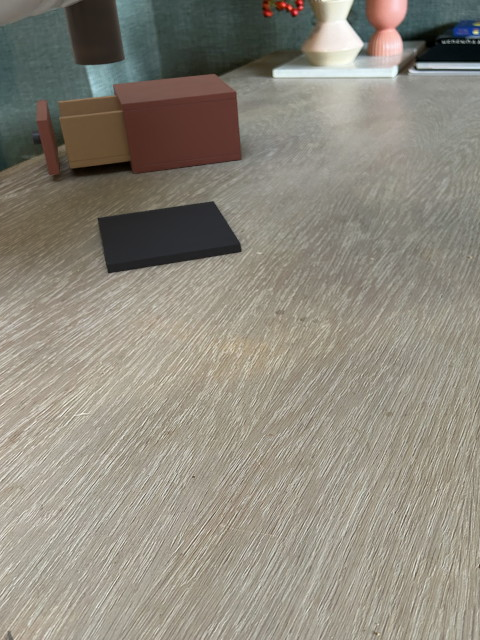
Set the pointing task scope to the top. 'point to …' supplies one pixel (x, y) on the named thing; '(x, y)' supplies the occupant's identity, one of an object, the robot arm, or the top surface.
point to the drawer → (84, 132)
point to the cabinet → (179, 122)
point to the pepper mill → (94, 32)
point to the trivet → (165, 236)
